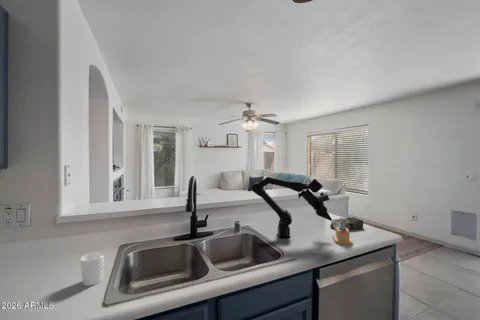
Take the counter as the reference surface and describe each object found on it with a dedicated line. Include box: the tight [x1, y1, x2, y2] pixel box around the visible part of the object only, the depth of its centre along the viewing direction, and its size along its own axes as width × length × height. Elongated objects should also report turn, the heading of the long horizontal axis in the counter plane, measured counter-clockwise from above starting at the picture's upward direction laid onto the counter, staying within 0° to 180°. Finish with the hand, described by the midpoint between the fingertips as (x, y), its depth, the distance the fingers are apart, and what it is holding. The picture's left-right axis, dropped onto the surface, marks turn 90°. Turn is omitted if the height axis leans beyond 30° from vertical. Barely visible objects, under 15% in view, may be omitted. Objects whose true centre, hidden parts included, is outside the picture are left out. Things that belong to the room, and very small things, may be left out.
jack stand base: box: [332, 227, 354, 246], centre depth 128 cm, size 9×9×7 cm
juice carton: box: [329, 216, 364, 231], centre depth 150 cm, size 20×10×6 cm, turn 107°
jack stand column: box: [338, 217, 346, 230], centre depth 128 cm, size 3×3×12 cm
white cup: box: [79, 251, 105, 287], centre depth 87 cm, size 8×8×10 cm
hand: (330, 217), depth 129 cm, fingers open, 9 cm apart
